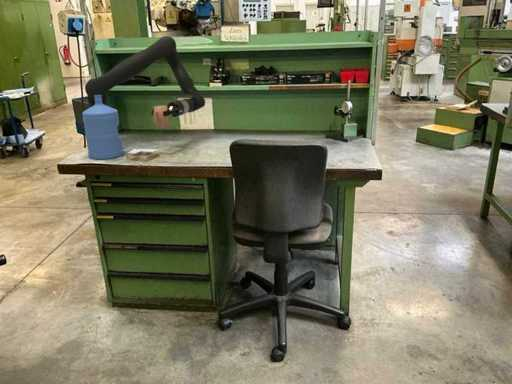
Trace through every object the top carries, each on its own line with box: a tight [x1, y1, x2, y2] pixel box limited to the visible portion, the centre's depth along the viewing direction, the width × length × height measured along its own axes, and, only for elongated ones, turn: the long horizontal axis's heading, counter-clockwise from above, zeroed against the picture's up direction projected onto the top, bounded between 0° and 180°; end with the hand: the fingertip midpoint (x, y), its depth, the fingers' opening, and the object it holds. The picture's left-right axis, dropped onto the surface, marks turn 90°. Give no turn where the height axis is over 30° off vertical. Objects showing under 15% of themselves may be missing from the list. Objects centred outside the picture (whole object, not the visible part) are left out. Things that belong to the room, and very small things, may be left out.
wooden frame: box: [126, 150, 160, 163], centre depth 191 cm, size 10×10×2 cm
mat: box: [152, 146, 183, 155], centre depth 202 cm, size 10×10×1 cm
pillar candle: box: [153, 105, 170, 130], centre depth 194 cm, size 6×8×10 cm
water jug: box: [81, 95, 124, 160], centre depth 192 cm, size 16×16×28 cm
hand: (158, 113), depth 192 cm, fingers closed on pillar candle, 6 cm apart
